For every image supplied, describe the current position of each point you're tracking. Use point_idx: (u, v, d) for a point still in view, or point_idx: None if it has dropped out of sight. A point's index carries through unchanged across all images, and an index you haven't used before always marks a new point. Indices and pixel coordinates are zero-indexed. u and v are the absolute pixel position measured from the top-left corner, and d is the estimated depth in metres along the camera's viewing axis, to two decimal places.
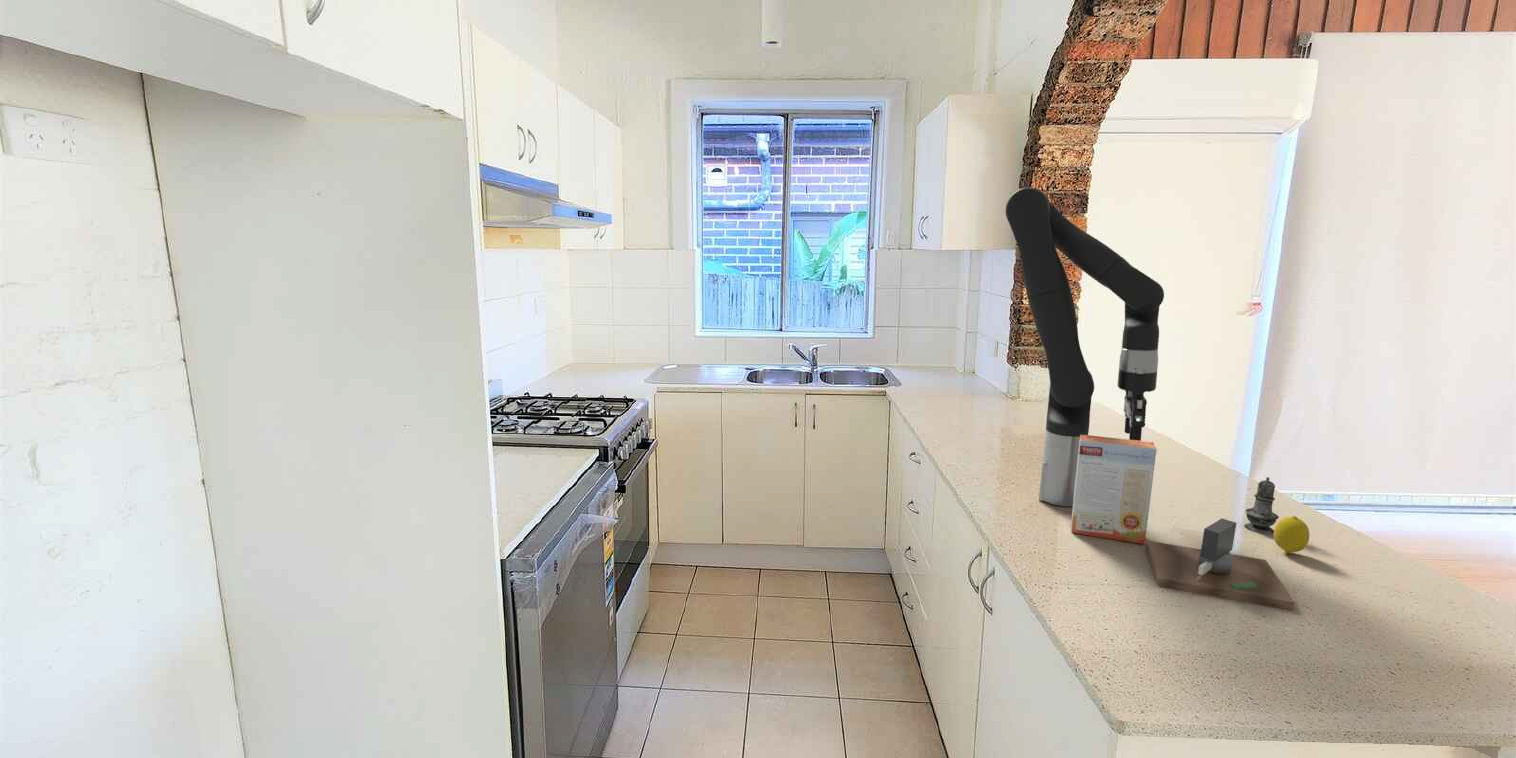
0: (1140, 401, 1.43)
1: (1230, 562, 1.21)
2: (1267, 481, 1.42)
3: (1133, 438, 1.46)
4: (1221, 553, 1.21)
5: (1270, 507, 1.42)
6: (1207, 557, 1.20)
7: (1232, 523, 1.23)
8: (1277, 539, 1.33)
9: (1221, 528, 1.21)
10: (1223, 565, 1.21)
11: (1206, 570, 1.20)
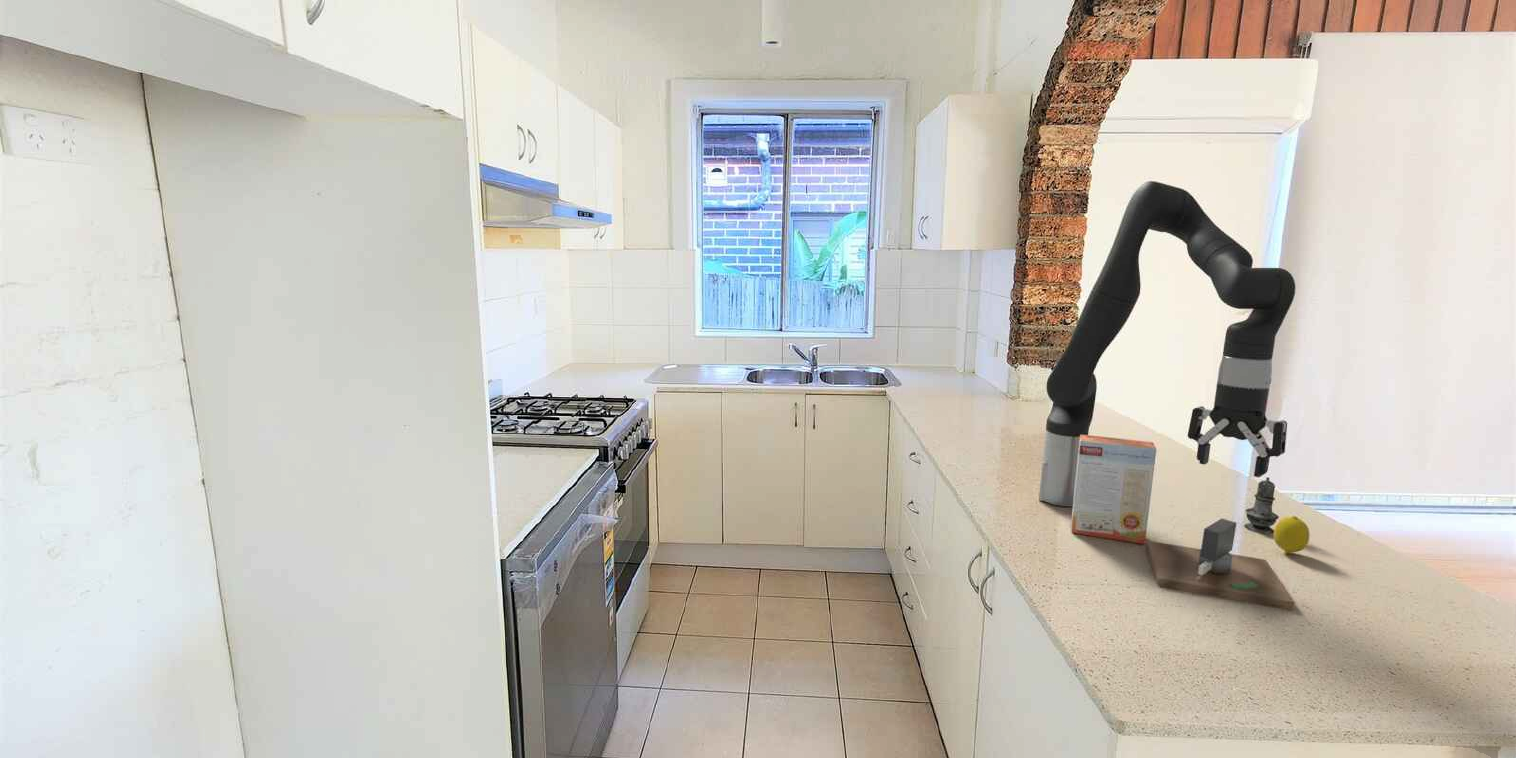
0: (1284, 423, 1.12)
1: (1230, 562, 1.21)
2: (1267, 481, 1.42)
3: (1265, 470, 1.15)
4: (1221, 553, 1.21)
5: (1270, 507, 1.42)
6: (1207, 557, 1.20)
7: (1232, 523, 1.23)
8: (1277, 539, 1.33)
9: (1221, 528, 1.21)
10: (1223, 565, 1.21)
11: (1206, 570, 1.20)
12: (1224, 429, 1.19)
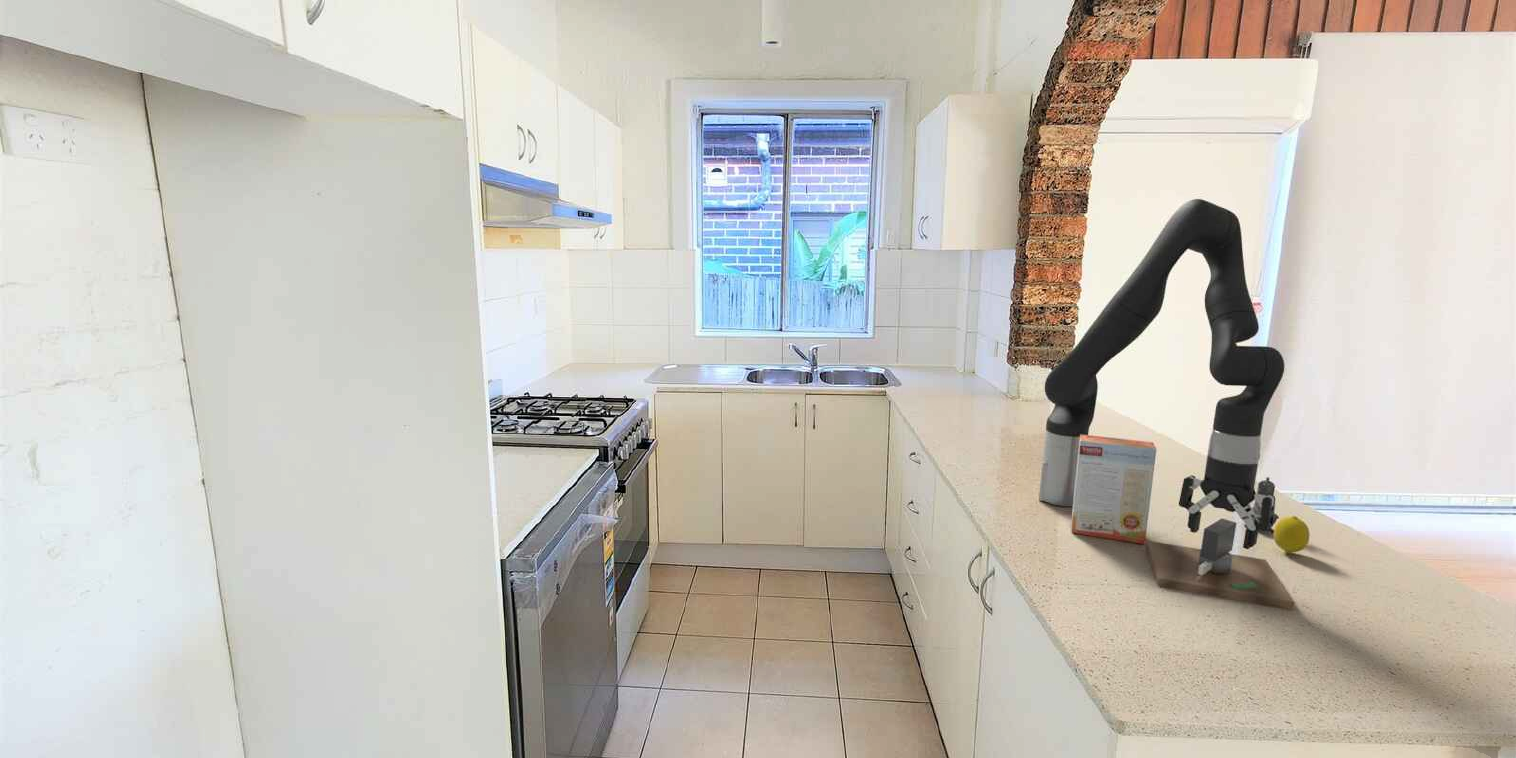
0: (1272, 498, 1.15)
1: (1230, 562, 1.21)
2: (1267, 481, 1.42)
3: (1254, 543, 1.18)
4: (1221, 553, 1.21)
5: None
6: (1207, 557, 1.20)
7: (1232, 523, 1.23)
8: (1277, 539, 1.33)
9: (1221, 528, 1.21)
10: (1223, 565, 1.21)
11: (1206, 570, 1.20)
12: (1214, 500, 1.21)
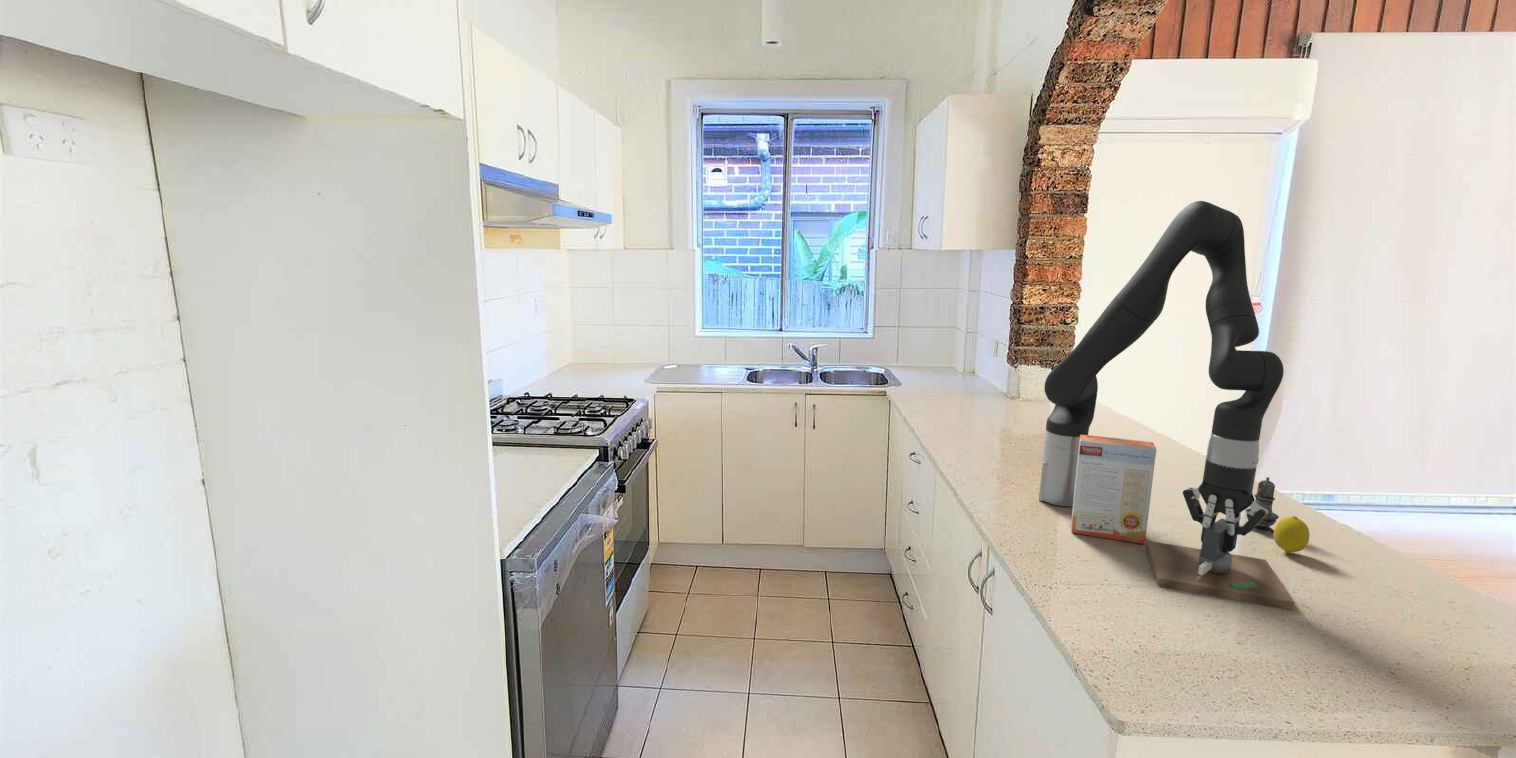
0: (1267, 512, 1.16)
1: (1230, 562, 1.21)
2: (1267, 481, 1.42)
3: (1232, 547, 1.20)
4: (1221, 553, 1.21)
5: (1270, 507, 1.42)
6: (1207, 557, 1.20)
7: None
8: (1277, 539, 1.33)
9: (1221, 528, 1.21)
10: (1223, 565, 1.21)
11: (1206, 570, 1.20)
12: (1217, 505, 1.21)
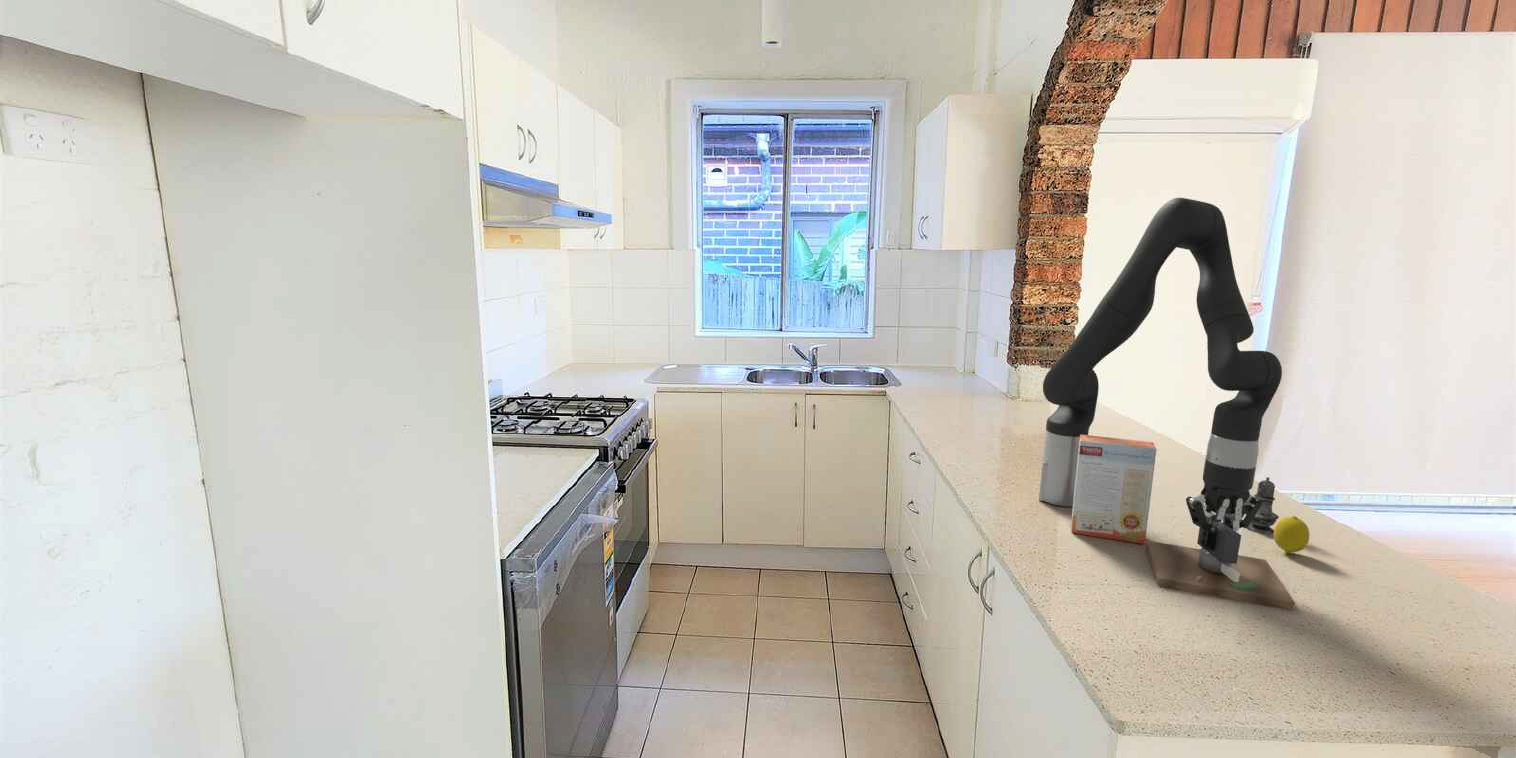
0: None
1: None
2: (1267, 481, 1.42)
3: None
4: None
5: (1270, 507, 1.42)
6: (1229, 561, 1.19)
7: None
8: (1277, 539, 1.33)
9: (1227, 528, 1.21)
10: (1231, 563, 1.21)
11: None
12: None
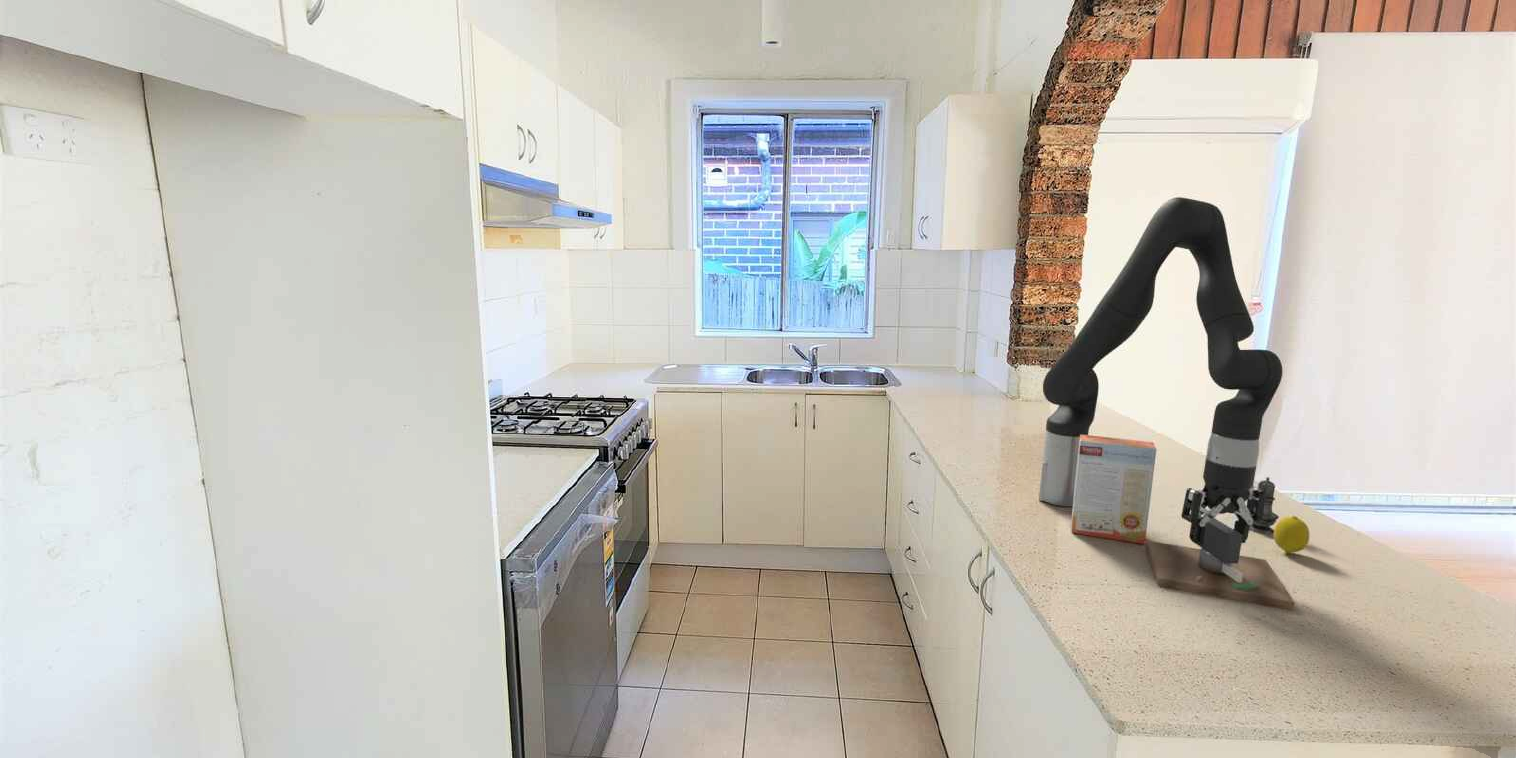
0: None
1: None
2: (1267, 481, 1.42)
3: None
4: None
5: (1270, 507, 1.42)
6: (1231, 561, 1.19)
7: (1214, 519, 1.25)
8: (1277, 539, 1.33)
9: (1227, 528, 1.21)
10: (1231, 563, 1.21)
11: None
12: None
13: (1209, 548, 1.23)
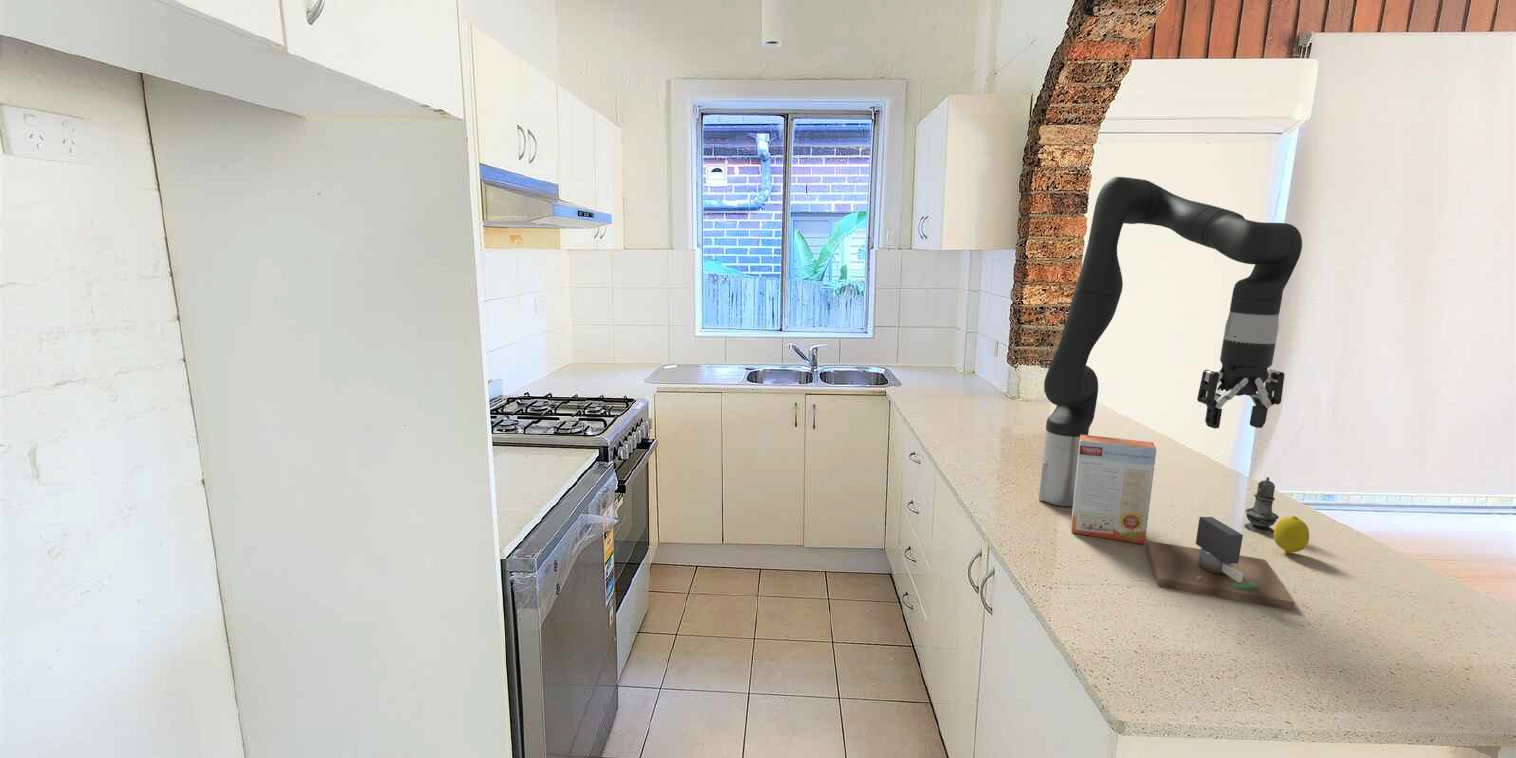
0: None
1: None
2: (1267, 481, 1.42)
3: None
4: None
5: (1270, 507, 1.42)
6: (1231, 561, 1.19)
7: (1214, 519, 1.25)
8: (1277, 539, 1.33)
9: (1227, 528, 1.21)
10: (1231, 563, 1.21)
11: None
12: None
13: (1209, 548, 1.23)
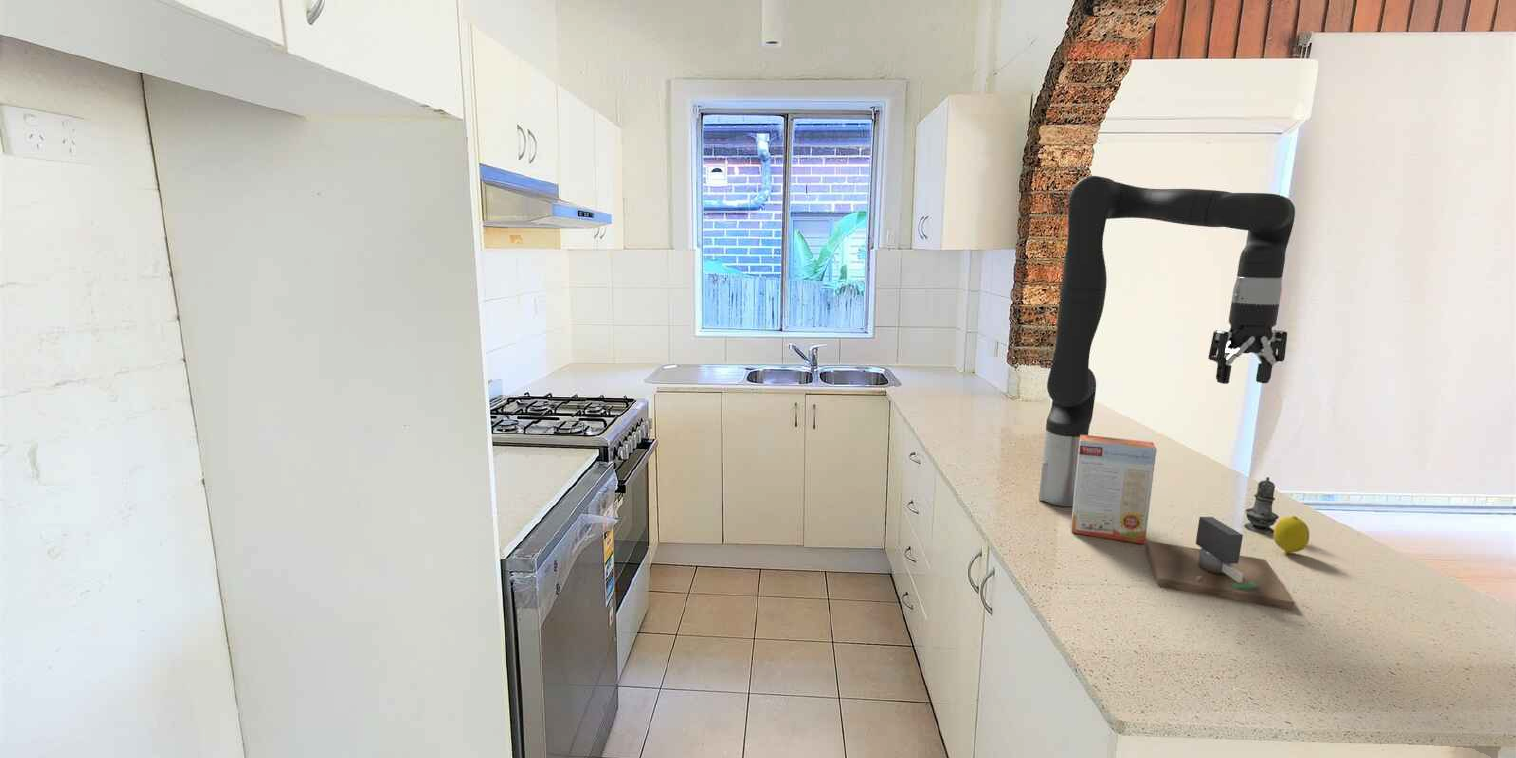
0: None
1: None
2: (1267, 481, 1.42)
3: None
4: None
5: (1270, 507, 1.42)
6: (1231, 561, 1.19)
7: (1214, 519, 1.25)
8: (1277, 539, 1.33)
9: (1227, 528, 1.21)
10: (1231, 563, 1.21)
11: None
12: None
13: (1209, 548, 1.23)
